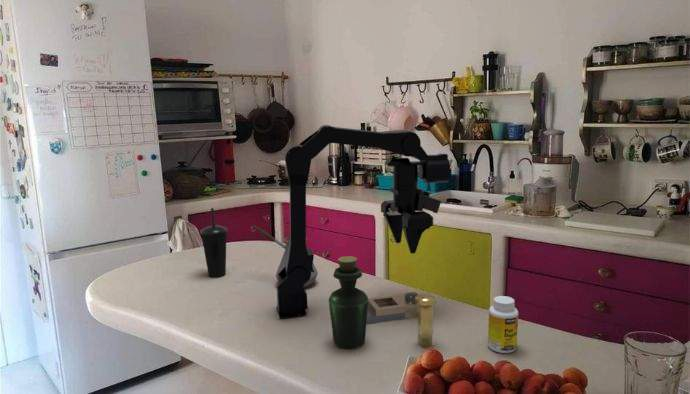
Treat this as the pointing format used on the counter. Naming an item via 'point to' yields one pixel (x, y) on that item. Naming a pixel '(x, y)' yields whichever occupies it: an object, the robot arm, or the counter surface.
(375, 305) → the knobbed window plate
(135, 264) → the counter surface
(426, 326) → the pin
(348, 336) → the potion bottle
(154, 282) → the counter surface
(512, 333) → the supplement bottle
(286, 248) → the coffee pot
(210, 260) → the drinking cup
